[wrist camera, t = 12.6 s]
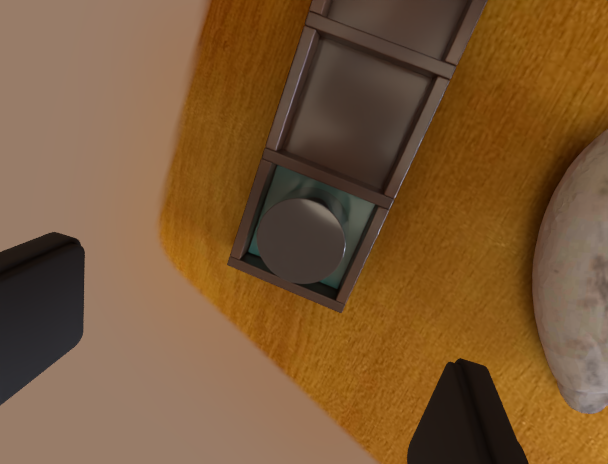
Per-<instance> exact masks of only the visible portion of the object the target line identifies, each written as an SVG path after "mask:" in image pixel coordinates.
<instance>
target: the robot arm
mask: <svg viewBox="0 0 608 464" xmlns="http://www.w3.org/2000/svg"><path fill="white" fill-rule="evenodd" d="M84 254H85V252H84V249H83V247H82V246H81V244H80V242H79V240H77V239H76V238H73V237H70V236H67V235H63V234H60V233H56V232H52V233H49V234H46V235H43V236H41V237H38V238H36V239H33V240H30V241H28V242H25V243H23V244H20V245H17V246H15V247H12V248H10V249H7V250H4V251H2V252H0V405H1V404H3V403H4V402H5V401H6V400H8V399H9V398H10V397H12V396H13V395H14V394H15V393H17V392H18V391H19V390H20V389H22V388H23V387H24V386H26V385H27V384H28V383H29V382H31V381H32V380H33V379H34V378H36V377H37V376H38V375H39V374H41V373H42V372H43V371H44V370H46V369H47V368H48V367H49V366H51V365H52V364H53V363H55V362H56V361H57V360H58V359H60V358H61V357H62V356H63V355H65V354H66V353H67V352H69V351H70V350H71V349H72V348H74V347H75V346H76V345H77V344H78V342H79V341H80V339H81V338H82V335H83V314H84V313H83V312H84V258H85V255H84ZM407 464H529V463H528V461H527V458H526V456H525V453H524V451H523V449H522V447H521V445H520V444H519V442H518V441H517V439H516V436H515V434H514V432H513V429H512V427H511V424H510V422H509V419H508V417H507V415H506V412H505V410H504V407H503V405H502V402H501V400H500V397H499V395H498V393H497V390H496V388H495V385H494V383H493V380H492V378H491V376H490V373H489V371H488V369H487V367H485V366H484V365H480V364H477V363H474V362H471V361H468V360H464V359H461V358H460V359H458V360H457V361H456V362H455V363H453V362H448V363H447V365H446V366H445V368H444V371H443V373H442V375H441V377H440V379H439V381H438V384H437V386H436V388H435V390H434V392H433V394H432V396H431V399H430V401H429V403H428V405H427V407H426V409H425V412H424V414H423V416H422V418H421V420H420V422H419V425H418V427H417V429H416V431H415V433H414V435H413V437H412V440H411V442H410V444H409V448H408V454H407Z"/></svg>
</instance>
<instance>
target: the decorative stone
mask: <svg viewBox="0 0 608 464" xmlns="http://www.w3.org/2000/svg"><path fill="white" fill-rule="evenodd" d="M532 295H533V304H534V312H535V314H534V315H535V319H536V323H537V328H538V334H539V337H540V340H541V343H542V347H543V349H544V352H545V356H546V359H547V361H548V365H549V367H550V369H551V371H552V374H553V375H554V377H555V378H556V379H557V384H558V388H559V390H560V393H561V395H562V396H563V398H564V400H565V401H566V402H567V404H568V405H569V406H570V407H571V408H573V409H574V410H576V411H579V412H581V413H588V414H592V413H597V412H600V411H602V410H603V409H604V407H605V406H607V405H608V129H607V130H605V131H604V132H603V133H602V134H601V135H599V136H598V137H597V138H596V139H594V140H593V141H592V142H591V143H590V144H589V145H588V146H587V147H586V148H585V149H584V150H583V151H582V152H581V153H580V154H579V155H578V157H577V158H576V159H575V160H574V161H573V162H572V164H571V165H570V166H569V168H568V169H567V171H566V173H565V174H564V176H563V178H562V179H561V181H560V183H559V184H558V186H557V188H556V189H555V191H554V193H553V196H552V198H551V200H550V202H549V205H548V207H547V208H546V212H545V214H544V217H543V220H542V223H541V226H540V230H539V233H538V239H537V243H536V247H535V255H534V259H533V272H532Z"/></svg>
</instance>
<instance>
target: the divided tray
mask: <svg viewBox="0 0 608 464" xmlns="http://www.w3.org/2000/svg"><path fill="white" fill-rule="evenodd" d="M486 3H487V0H312V2H311V5H310V8H309V12H308V15H307V18H306V21H305V25H306V26H304V27H303V31H302V34H301V37H300V40H299V43H298V46H297V49H296V52H295V55H294V59H293V62H292V65H291V68H290V71H289V74H288V77H287V80H286V83H285V86H284V90H283V93H282V96H281V99H280V102H279V105H278V108H277V111H276V114H275V118H274V121H273V124H272V127H271V130H270V133H269V136H268V139H267V142H266V148H265V149H264V152H263V155H262V159H261V161H260V164H259V167H258V170H257V173H256V176H255V179H254V183H253V186H252V189H251V192H250V195H249V198H248V201H247V204H246V207H245V211H244V214H243V217H242V220H241V223H240V226H239V229H238V232H237V235H236V239H235V242H234V245H233V248H232V251H231V254H230V257H229V260H228V263H227V265H229V266H231V267H233V268H236V269H238V270H241V271H243V272H245V273H248V274H250V275H252V276H255V277H257V278H259V279H262V280H264V281H266V282H269V283H271V284H274V285H276V286H278V287H281V288H283V289H285V290H288V291H290V292H292V293H295V294H297V295H299V296H302V297H304V298H306V299H309V300H311V301H314V302H316V303H318V304H321V305H323V306H325V307H328V308H330V309H332V310H335V311H337V312H339V313H342V311H343V309H344V307H345V304H346V302H347V300H348V298H349V296H350V294H351V292H352V290H353V287H354V285H355V283H356V281H357V279H358V277H359V275H360V272H361V270H362V268H363V266H364V264H365V262H366V260H367V257H368V255H369V253H370V251H371V249H372V247H373V245H374V242H375V240H376V238H377V236H378V234H379V232H380V230H381V227H382V225H383V223H384V221H385V219H386V217H387V215H388V212H389V209H390V208H391V206H392V204H393V202H394V199H395V197H396V195H397V193H398V191H399V189H400V187H401V185H402V182H403V180H404V178H405V176H406V174H407V172H408V170H409V167H410V165H411V163H412V161H413V159H414V157H415V155H416V152H417V150H418V148H419V146H420V144H421V142H422V140H423V137H424V135H425V133H426V131H427V129H428V127H429V125H430V123H431V120H432V118H433V116H434V114H435V112H436V110H437V108H438V105H439V103H440V101H441V99H442V97H443V95H444V93H445V90H446V88H447V86H448V84H449V81H450V79H451V78H452V75H453V73H454V71H455V69H456V66H457V65H458V63H459V60H460V58H461V56H462V54H463V52H464V50H465V48H466V45H467V43H468V41H469V39H470V37H471V35H472V33H473V30H474V28H475V26H476V24H477V22H478V20H479V18H480V15H481V13H482V11H483V9H484V7H485V5H486ZM304 187H314V188H319V189H322V190H325V191H327V192H329V193H330V194H332V195H333V196H335V197H336V198H337V199H338V200H339V201H340V202H341V204H342V205H343V207H344V208H345V210H346V213H347V215H348V219H349V234H348V239H347V243H346V248H345V252H344V256H343V259H342V261H341V263H340V264H339V266H338V267H337V269H336V270H335V271H334V272H333V273H332V274H331V275H329V276H328V277H326V278H325V279H323V280H321V281H318V282H315V283H309V284H298V283H293V282H289V281H286V280H284V279H282V278H280V277H279V276H277V275H276V274H274V273H273V272H272V271H271V270H270V269H269V268H268V267H267V266H266V264H265V263H264V262H263V260H262V258H261V256H260V254H259V251H258V247H257V230H258V226H259V223H260V221H261V219H262V217H263V216H264V214H265V213H266V212H267V211H268V210H269V209H270V208H271V207H272V206H273V205H274V204H276V203H277V202H278V201H279V200H280V199H281V198H282V197H284V196H285V195H286V194H287V193H289V192H291V191H293V190H295V189H299V188H304Z"/></svg>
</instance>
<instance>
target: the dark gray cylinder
mask: <svg viewBox="0 0 608 464" xmlns="http://www.w3.org/2000/svg"><path fill="white" fill-rule="evenodd" d="M348 234H349V219H348V215H347V213H346V210H345V208H344V207H343V205H342V204H341V202H340V201H339V200H338V199H337V198H336V197H335V196H333V195H332V194H330V193H329V192H327V191H325V190H322V189H319V188H314V187H304V188H299V189H295V190H293V191H291V192H289V193H287V194H286V195H285V196H284V197H282V198H281V199H280V200H279V201H278V202H277V203H276V204H274V205H273V206H272V207H271V208H270V209H269V210H268V211H267V212H266V213H265V214H264V216H263V217H262V219H261V221H260V223H259V226H258V230H257V247H258V251H259V254H260V256H261V258H262V260H263V262H264V263H265V264H266V266H267V267H268V268H269V269H270V270H271V271H272V272H273V273H274V274H276V275H277V276H279V277H280V278H282V279H284V280H286V281H289V282H293V283H298V284H309V283H315V282H318V281H321V280H323V279H325V278H326V277H328V276H329V275H331V274H332V273H333V272H334V271H335V270H336V269H337V267H338V266H339V264H340V263H341V261H342V259H343V256H344V252H345V248H346V243H347V239H348Z"/></svg>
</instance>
